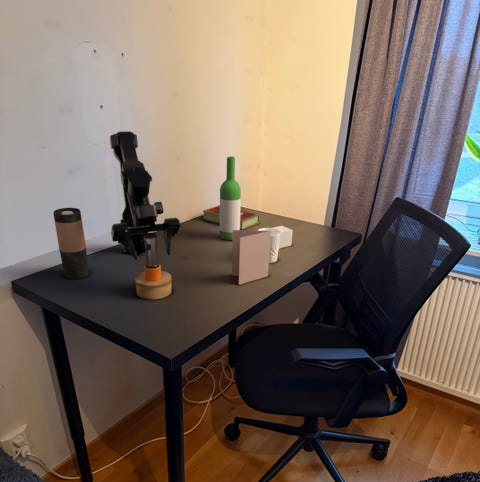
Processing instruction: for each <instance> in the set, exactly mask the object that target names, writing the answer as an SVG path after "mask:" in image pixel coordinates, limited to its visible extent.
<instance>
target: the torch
mask: <svg viewBox="0 0 480 482" xmlns="http://www.w3.org/2000/svg"><path fill="white" fill-rule="evenodd" d="M144 239H145V251H144V252H145V264H144V265H143V269H144V271H143V272H145V279H147V280H150V281H155V280H159V279H160V278H161V271H162V265H161V264H160V263H159V257H158V241H157V233H155V232H148V233H146V234H144Z"/></svg>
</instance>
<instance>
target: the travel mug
mask: <svg viewBox="0 0 480 482" xmlns="http://www.w3.org/2000/svg"><path fill="white" fill-rule="evenodd" d="M81 212H82V211H81V209H80V208H76V207H61V208H58V209H54V210H53V212H52V214H53V220H54V227H55V232H56V238H57V244H58V250H59V254H60V255H59V256H60V260H61V264H62V269H63V274H64V277H66V278H67V279H71V280H76V279H82V278H85V277H87V276H88V275H89V274H90V273H89V271H90V270H89V263H88V261H89V260H88V251H87V245H86V237H85V231H84V226H83V219H82V213H81Z"/></svg>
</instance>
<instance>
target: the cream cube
mask: <svg viewBox="0 0 480 482" xmlns="http://www.w3.org/2000/svg"><path fill="white" fill-rule="evenodd" d="M273 228H274V229H277V230H279V231H281V236H280V244H279V249H282V248H286V247H290V246H292V245H293V244H292V242H293V232H294V231H293V229H291V228H289V227H286V226H285V225H279V226H274V227H273Z"/></svg>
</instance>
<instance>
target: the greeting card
mask: <svg viewBox="0 0 480 482" xmlns="http://www.w3.org/2000/svg"><path fill="white" fill-rule="evenodd" d="M270 234H271V231H258V230H255V229H254V230H249V229H244V230H233V240H232V246H231V247H232V250H231V253H232V254H231V276H233V277H234V276H235V277H238V285H243V284H246V283H250V282H253V281H256V280H259V279H263V278H266V277H269V265H270V263H269V250H270Z"/></svg>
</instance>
